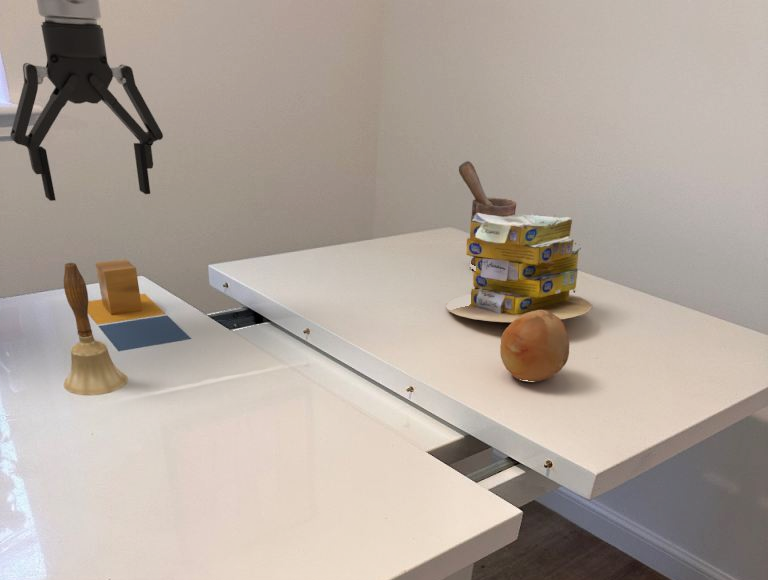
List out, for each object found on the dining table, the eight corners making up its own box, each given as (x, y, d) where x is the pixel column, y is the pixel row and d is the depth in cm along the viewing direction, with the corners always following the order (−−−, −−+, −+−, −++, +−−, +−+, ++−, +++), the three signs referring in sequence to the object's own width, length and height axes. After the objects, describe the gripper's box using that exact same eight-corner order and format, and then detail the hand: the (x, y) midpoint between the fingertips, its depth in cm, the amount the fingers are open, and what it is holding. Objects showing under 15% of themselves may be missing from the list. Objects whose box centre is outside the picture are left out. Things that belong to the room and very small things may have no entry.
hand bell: (66, 402, 91) (37, 277, 82) (60, 376, 98) (33, 257, 88) (133, 393, 94) (113, 271, 85) (124, 368, 101) (104, 252, 91)
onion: (503, 359, 110) (513, 295, 104) (568, 372, 107) (582, 307, 101) (487, 384, 102) (497, 316, 97) (556, 398, 100) (571, 329, 94)
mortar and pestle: (461, 277, 143) (473, 167, 131) (445, 264, 149) (455, 158, 138) (513, 274, 146) (530, 167, 134) (495, 261, 153) (509, 158, 141)
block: (102, 305, 119) (95, 262, 115) (133, 301, 121) (126, 259, 117) (111, 315, 115) (103, 271, 111) (142, 310, 118) (136, 267, 114)
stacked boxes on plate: (419, 301, 130) (427, 203, 120) (526, 285, 140) (541, 194, 131) (503, 352, 113) (520, 242, 103) (617, 329, 123) (642, 228, 114)
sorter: (79, 305, 120) (79, 302, 119) (145, 296, 125) (144, 293, 124) (119, 354, 104) (118, 351, 104) (191, 341, 110) (191, 338, 109)
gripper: (-30, 17, 85) (13, 207, 97) (174, 27, 97) (190, 195, 109) (-40, 14, 90) (2, 195, 102) (155, 23, 102) (172, 184, 114)
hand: (99, 195), depth 106 cm, fingers open, 13 cm apart
